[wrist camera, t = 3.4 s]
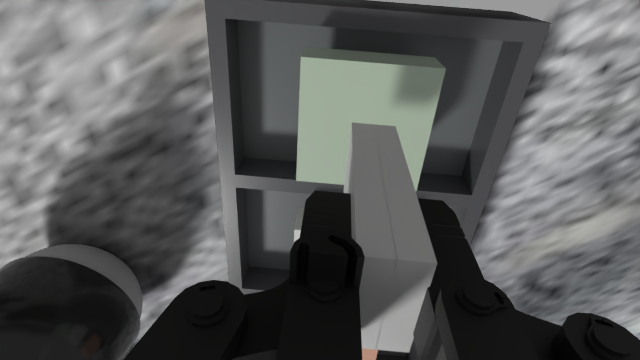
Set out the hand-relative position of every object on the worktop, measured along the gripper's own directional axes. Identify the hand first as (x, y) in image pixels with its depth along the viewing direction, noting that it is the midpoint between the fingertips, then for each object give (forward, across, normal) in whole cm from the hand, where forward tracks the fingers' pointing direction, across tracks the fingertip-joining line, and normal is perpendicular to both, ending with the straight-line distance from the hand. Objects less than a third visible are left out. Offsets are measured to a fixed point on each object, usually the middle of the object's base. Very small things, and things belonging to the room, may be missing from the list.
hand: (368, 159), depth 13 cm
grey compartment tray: (+9, 0, +9) cm, 12 cm away
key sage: (+5, 0, 0) cm, 5 cm away
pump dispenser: (+9, +19, +17) cm, 27 cm away
